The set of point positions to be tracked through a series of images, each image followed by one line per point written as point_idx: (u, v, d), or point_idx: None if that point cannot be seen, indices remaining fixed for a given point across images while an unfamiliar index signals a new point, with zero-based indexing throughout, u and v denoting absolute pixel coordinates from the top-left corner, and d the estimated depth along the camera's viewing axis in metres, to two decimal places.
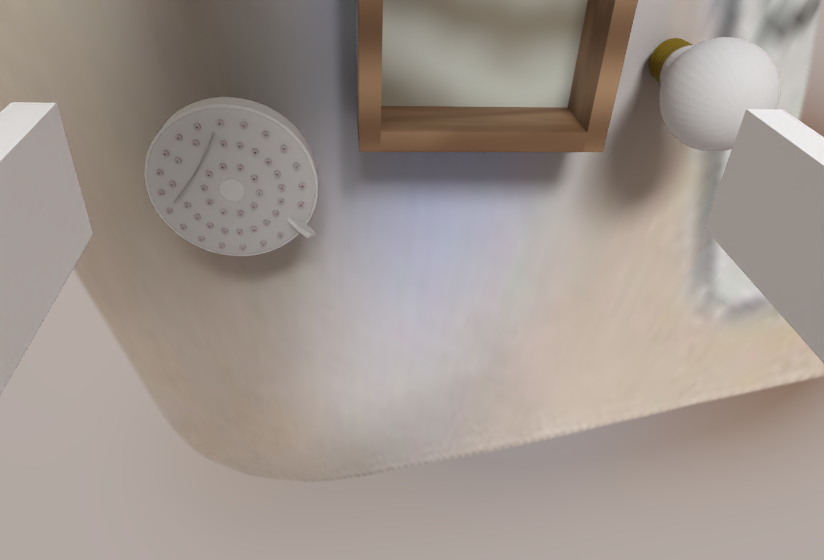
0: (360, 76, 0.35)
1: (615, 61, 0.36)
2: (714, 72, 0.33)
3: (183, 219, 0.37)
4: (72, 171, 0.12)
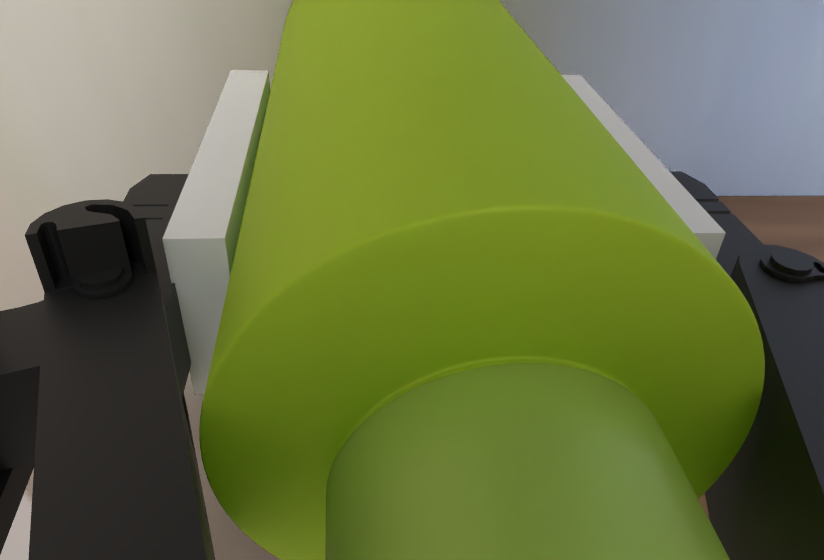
0: None
1: None
2: None
3: None
4: None
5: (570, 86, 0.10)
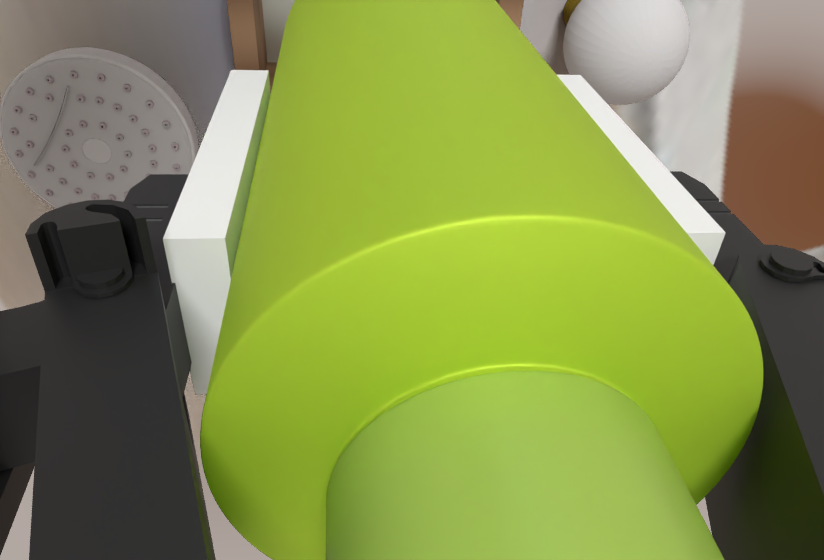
0: (231, 23, 0.32)
1: (513, 6, 0.33)
2: (612, 12, 0.30)
3: (48, 184, 0.34)
4: None
5: (569, 91, 0.10)
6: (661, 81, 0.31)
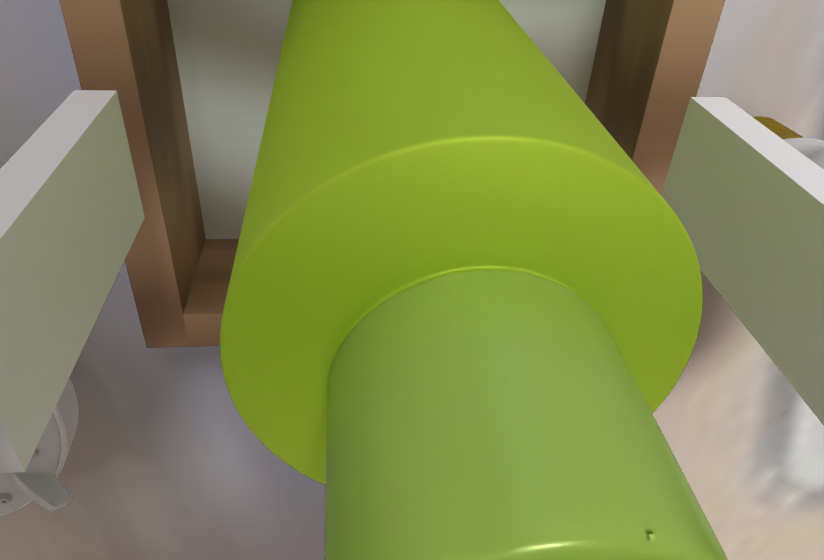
0: None
1: (653, 181, 0.17)
2: None
3: None
4: (128, 156, 0.13)
5: None
6: None
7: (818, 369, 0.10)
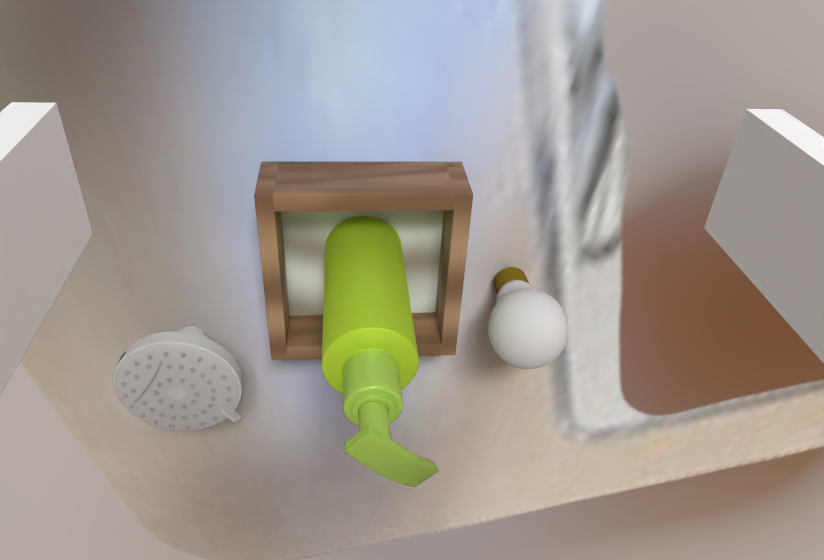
0: (268, 316, 0.48)
1: (455, 301, 0.49)
2: (514, 325, 0.46)
3: (142, 411, 0.51)
4: (72, 171, 0.12)
5: (397, 288, 0.43)
6: (548, 362, 0.47)
7: None
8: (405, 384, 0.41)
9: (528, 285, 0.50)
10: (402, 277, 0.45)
